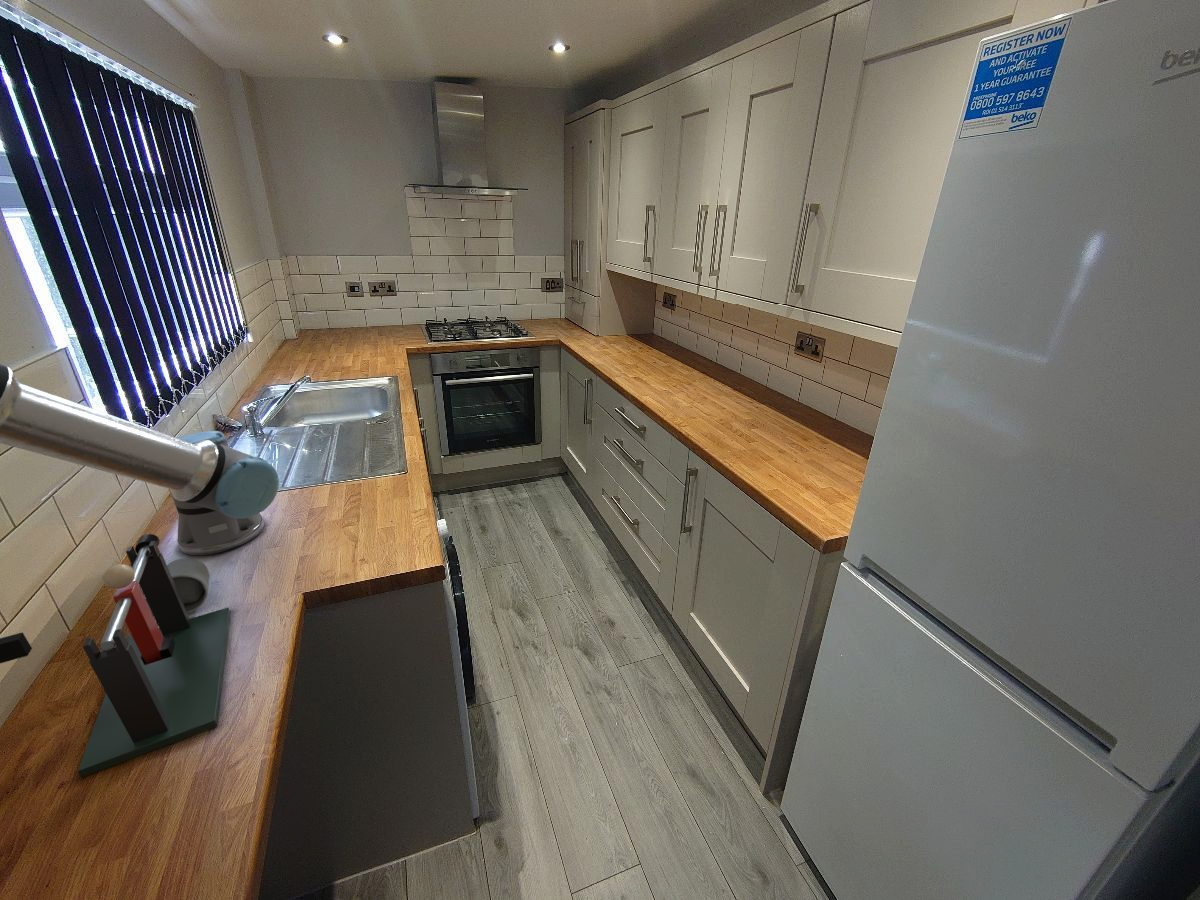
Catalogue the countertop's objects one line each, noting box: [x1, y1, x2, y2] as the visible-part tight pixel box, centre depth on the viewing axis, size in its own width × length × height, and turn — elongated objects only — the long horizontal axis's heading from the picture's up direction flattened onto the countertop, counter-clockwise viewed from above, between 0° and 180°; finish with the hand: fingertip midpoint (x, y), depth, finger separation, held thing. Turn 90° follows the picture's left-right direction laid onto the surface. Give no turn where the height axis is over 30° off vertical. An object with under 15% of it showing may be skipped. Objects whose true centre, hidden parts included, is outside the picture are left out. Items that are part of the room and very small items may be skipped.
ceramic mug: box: [145, 557, 210, 617], centre depth 92 cm, size 11×8×8 cm
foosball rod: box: [98, 533, 175, 665], centre depth 74 cm, size 26×4×16 cm, turn 30°
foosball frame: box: [77, 541, 231, 778], centre depth 74 cm, size 26×14×17 cm, turn 30°
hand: (24, 644), depth 67 cm, fingers closed
